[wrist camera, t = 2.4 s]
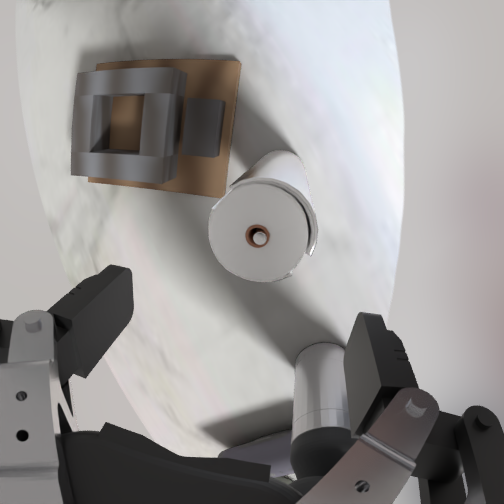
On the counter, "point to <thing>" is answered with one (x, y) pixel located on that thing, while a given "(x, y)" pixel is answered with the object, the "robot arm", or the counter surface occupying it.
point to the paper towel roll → (265, 220)
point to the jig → (156, 124)
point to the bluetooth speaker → (266, 452)
